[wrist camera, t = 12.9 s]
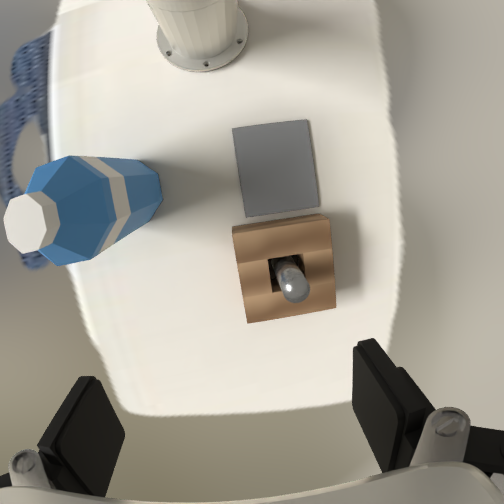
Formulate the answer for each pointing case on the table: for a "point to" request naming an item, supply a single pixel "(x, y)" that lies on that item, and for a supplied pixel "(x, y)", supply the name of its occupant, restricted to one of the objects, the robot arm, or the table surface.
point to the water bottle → (81, 207)
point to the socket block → (278, 245)
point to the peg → (290, 279)
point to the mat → (275, 167)
